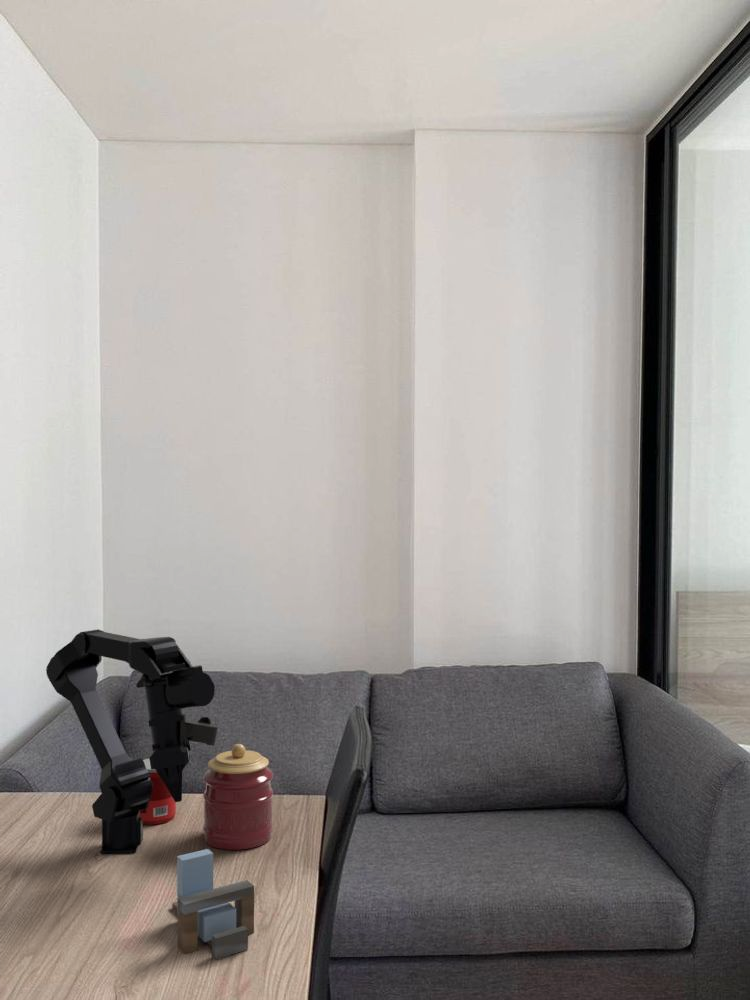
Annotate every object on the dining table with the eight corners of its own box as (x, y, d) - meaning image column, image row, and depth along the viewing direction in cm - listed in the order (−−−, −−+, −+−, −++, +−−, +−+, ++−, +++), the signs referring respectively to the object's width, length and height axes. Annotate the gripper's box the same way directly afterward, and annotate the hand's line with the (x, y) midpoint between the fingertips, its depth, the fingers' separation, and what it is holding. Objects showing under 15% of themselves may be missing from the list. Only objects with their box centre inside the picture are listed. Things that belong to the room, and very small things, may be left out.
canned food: (183, 813, 186) (183, 759, 186) (161, 827, 178) (161, 771, 178) (150, 809, 188) (150, 755, 188) (127, 822, 181) (127, 766, 181)
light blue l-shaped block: (177, 914, 141) (177, 856, 141) (207, 906, 144) (207, 848, 144) (204, 942, 133) (204, 879, 132) (236, 932, 135) (236, 871, 135)
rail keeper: (147, 914, 143) (147, 869, 143) (213, 896, 149) (213, 853, 149) (195, 966, 128) (195, 915, 128) (266, 943, 134) (266, 896, 134)
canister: (285, 841, 172) (285, 747, 172) (221, 857, 165) (221, 758, 164) (253, 820, 183) (253, 731, 182) (192, 834, 175) (192, 741, 175)
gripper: (211, 705, 154) (226, 800, 152) (211, 698, 172) (224, 783, 170) (143, 718, 152) (157, 815, 150) (150, 709, 170) (163, 796, 168)
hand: (178, 801), depth 160 cm, fingers closed
